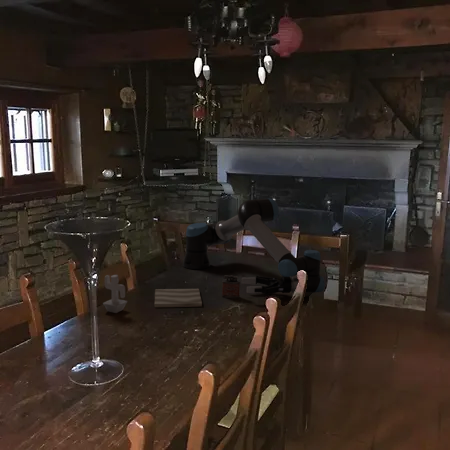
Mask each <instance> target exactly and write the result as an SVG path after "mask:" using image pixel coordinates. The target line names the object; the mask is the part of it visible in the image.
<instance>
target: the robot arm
mask: <svg viewBox="0 0 450 450" xmlns="http://www.w3.org/2000/svg"><path fill="white" fill-rule="evenodd" d="M278 205H279V204H278V203H277V201H276V200H274V199H273V198H269V197H266V198H258V199H248V200H245V201H243V202H242V203H241V204H240V205H239V207H238V210H237V214H236V215H234V216H233V217H230V218H229V219H227V220H220V221H218V222H216V223H213V224H207V223H205V222H196V223H191V224H188V225H187V226H186V230H185V231H186V233H185V236H186V237H185V238H186V240H185V247H186V249H185V254H184V257H183V261H182V266H183V268H186V269H189V270H204V269H205V270H206V269H208V268H210V267H211V260H210V258H209V254H208V247H209V246H210V247H211V246H216V245H217V246H218V245H225V244H228V243H229V242H230V241H231V240H232V237H233V235H236V234H237V233H240V232H242V231H244V230H246V231H249V232H250V233H251V234H252V236H253V237H255V239H256V240H257V242H259V243H260V244H261V246H262V247H263V248H264V249H265V251H266V252H267V253H268V254H269V255H270V256H271V257H272V258H273V260H275V263H277V269H278V272H279V274H280V275H281V277H280V279H278V278H277V277H269V276H260V275H256V276H255V277H241V284H242V285H245V284H246V285H248V284H249V285H252V284H253V285H254V286H246V294H259V293H261V294H263V295H271V294H276V293H283V294H288V293H291V294H293V293H294V291H295V289H296V286H297V284H298V279H297V276H298V275H297V272H298V271H300V270H304V271H306V272H307V274H308V280H307V289H306V292H305V293H313V294H315V293H321V292H323V291H325V284H326V283H325V278H324V276H323V275H321V262H322V259H321V252H320V251H318V250H315V249H306V250H304V252H303V256H299V257H298V256H297V257H295V255H293V253H292V252H291V251H290V250H289V249H288V248H287V247H286V246H285V244H283V242H282V241H281V240H280V239H279V238H278V237H277V236H276V235H275V234H274V233H273V231H272V230H271V229H270V228H269V227H268V226H267V225H266V223H268V222H274V221H276V220H277V219H278V217H279V212H280V211H279V210H280V209H279V206H278ZM257 284H261V285H262V286H257ZM255 285H256V286H255ZM264 285H265V286H264ZM294 294H295V293H294Z"/></svg>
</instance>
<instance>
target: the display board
mask: <svg viewBox="0 0 450 450" xmlns="http://www.w3.org/2000/svg"><path fill="white" fill-rule="evenodd" d="M185 307H186V308H187V307H189V308H190V307H191V308H193V307H198V308H199V307H200V308H202V307H203V301H202V297H201V293H200V289H199V288H165V289H164V288H160V289H159V288H158V289H157V288H156V289H154V308H185Z"/></svg>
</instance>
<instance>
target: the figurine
mask: <svg viewBox="0 0 450 450" xmlns="http://www.w3.org/2000/svg"><path fill="white" fill-rule="evenodd" d="M119 282H120V280H119V275H118V274H113V275H109V274H107V275H105V276H104V288H105V289H107V290H110V291H111V299H109V300H106V301H104V302H102V305H103V306H104V308H105V310H106V311H107V312H109V313H114V314H118V313H119V312H121V311H124V308H125V307H126V305H127V303H128V300H124V298H125V297H126V286H125V285H124V284H120V283H119ZM119 296H120V297H119ZM120 298H121V299H120Z"/></svg>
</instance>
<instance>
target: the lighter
mask: <svg viewBox="0 0 450 450" xmlns="http://www.w3.org/2000/svg"><path fill="white" fill-rule="evenodd" d="M221 282H222V288H221V291H222V292H221V298H225V299H240V298H241V297H240V286H241V285H240V284H241V281H240V280H238V276H237V275H235V276H234V275H224V276H223V279H222V281H221ZM239 297H240V298H239Z"/></svg>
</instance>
